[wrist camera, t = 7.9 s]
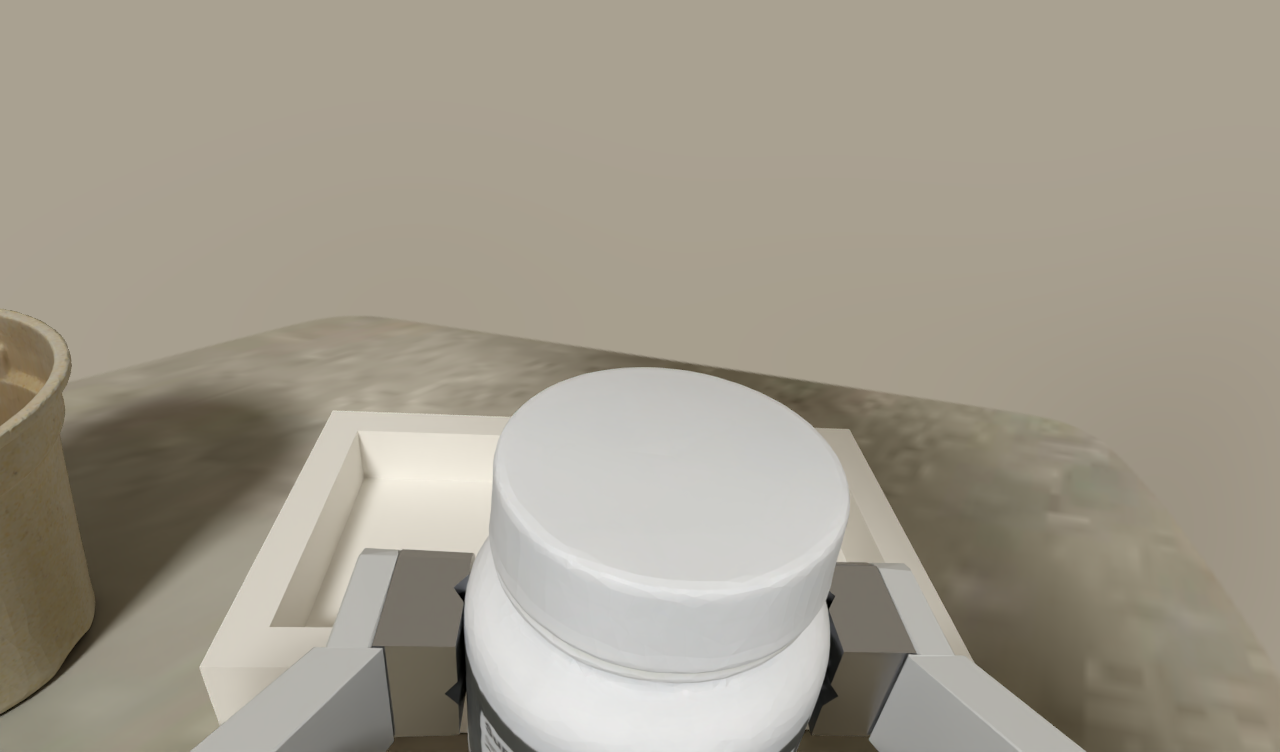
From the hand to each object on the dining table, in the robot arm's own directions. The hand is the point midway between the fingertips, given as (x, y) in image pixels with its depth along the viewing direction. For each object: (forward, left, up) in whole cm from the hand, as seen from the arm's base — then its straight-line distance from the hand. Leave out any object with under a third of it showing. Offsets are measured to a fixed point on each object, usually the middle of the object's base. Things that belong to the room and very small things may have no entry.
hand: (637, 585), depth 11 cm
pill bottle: (0, -1, -5) cm, 5 cm away
